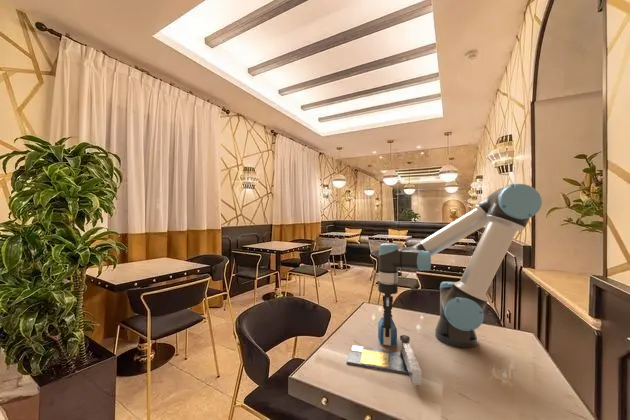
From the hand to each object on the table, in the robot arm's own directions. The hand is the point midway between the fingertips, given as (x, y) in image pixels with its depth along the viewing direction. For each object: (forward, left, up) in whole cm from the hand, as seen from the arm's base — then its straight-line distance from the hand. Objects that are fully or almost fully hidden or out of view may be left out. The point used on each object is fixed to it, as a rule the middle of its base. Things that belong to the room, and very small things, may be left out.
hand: (387, 338), depth 104 cm
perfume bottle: (0, 0, -1) cm, 1 cm away
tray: (+2, +15, -1) cm, 15 cm away
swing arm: (-7, +19, +1) cm, 21 cm away
